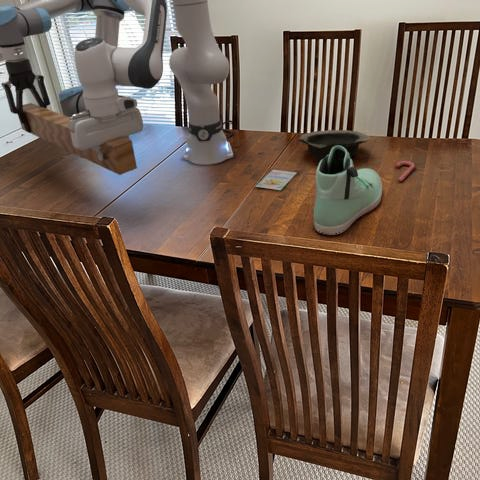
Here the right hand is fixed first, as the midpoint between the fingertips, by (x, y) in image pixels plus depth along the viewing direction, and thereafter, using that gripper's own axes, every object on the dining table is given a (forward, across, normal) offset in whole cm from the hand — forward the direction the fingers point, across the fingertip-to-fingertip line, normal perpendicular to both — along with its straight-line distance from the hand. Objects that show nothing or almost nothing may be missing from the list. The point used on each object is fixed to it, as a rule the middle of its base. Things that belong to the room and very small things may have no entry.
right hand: (113, 155), depth 133 cm
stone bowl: (+20, +75, -19) cm, 80 cm away
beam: (+3, 0, +26) cm, 26 cm away
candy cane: (+20, +76, -46) cm, 92 cm away
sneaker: (+20, +45, -47) cm, 68 cm away
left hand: (+2, 0, +52) cm, 52 cm away
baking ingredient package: (+20, +47, -17) cm, 54 cm away
